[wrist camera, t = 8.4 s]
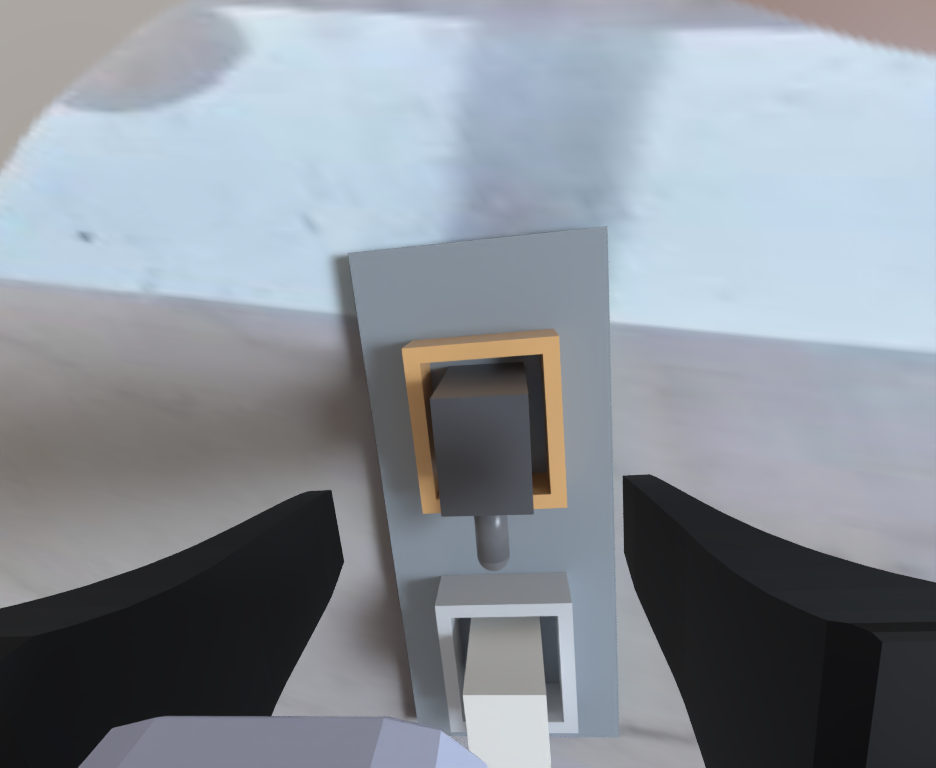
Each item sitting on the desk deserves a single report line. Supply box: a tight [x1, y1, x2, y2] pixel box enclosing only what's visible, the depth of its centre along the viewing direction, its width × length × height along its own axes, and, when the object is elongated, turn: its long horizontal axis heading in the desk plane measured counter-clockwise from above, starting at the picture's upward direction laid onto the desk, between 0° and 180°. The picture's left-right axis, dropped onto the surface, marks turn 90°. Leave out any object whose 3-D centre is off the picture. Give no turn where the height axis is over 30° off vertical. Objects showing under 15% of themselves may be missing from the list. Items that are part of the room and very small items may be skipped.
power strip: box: [348, 226, 619, 768], centre depth 19 cm, size 24×10×6 cm, turn 5°
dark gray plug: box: [430, 362, 534, 571], centre depth 17 cm, size 7×3×5 cm, turn 4°
